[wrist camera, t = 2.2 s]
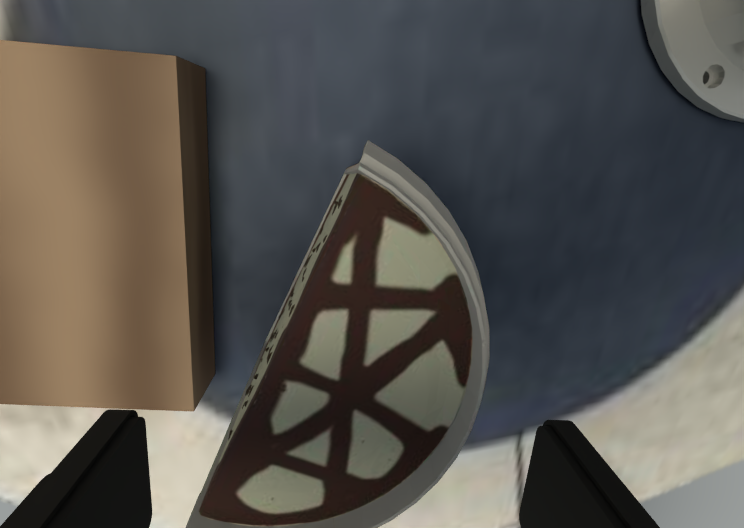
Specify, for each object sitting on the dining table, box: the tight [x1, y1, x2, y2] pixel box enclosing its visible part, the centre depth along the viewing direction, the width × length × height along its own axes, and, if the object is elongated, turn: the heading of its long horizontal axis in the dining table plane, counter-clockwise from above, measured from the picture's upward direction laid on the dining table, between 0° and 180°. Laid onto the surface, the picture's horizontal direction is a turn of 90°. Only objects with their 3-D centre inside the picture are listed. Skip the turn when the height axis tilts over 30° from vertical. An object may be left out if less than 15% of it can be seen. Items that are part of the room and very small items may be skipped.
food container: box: [186, 141, 489, 528], centre depth 16 cm, size 12×6×10 cm, turn 154°
